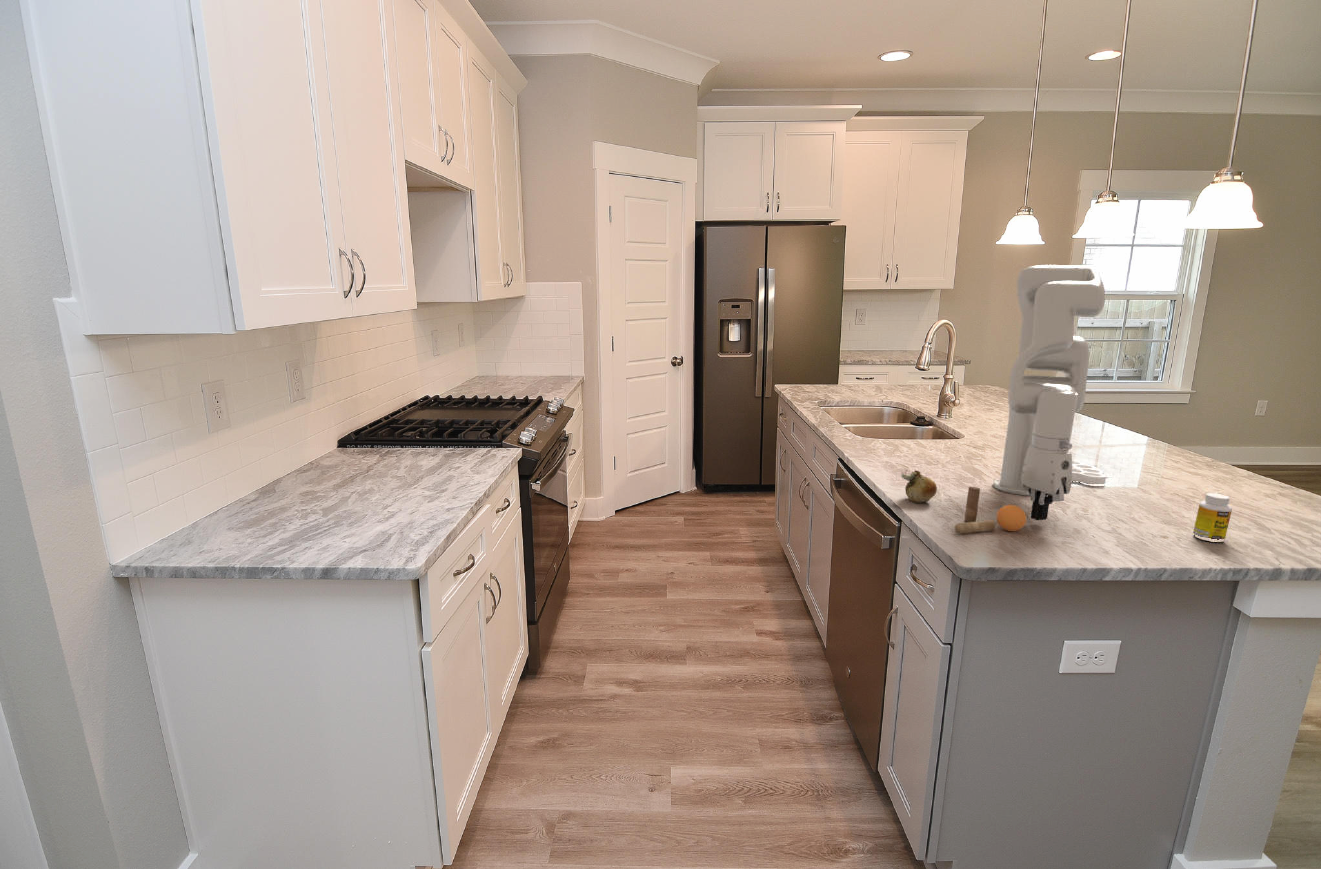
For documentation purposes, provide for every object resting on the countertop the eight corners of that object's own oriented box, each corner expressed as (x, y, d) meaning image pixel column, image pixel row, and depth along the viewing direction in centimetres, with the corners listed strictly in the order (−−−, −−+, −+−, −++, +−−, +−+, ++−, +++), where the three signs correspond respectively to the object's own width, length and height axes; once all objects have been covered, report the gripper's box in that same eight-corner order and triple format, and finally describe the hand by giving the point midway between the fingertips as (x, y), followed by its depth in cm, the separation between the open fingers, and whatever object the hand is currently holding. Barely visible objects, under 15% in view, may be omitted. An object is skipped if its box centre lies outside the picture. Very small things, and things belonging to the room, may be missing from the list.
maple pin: (989, 517, 149) (956, 521, 146) (996, 523, 147) (963, 527, 144) (986, 526, 150) (953, 530, 147) (993, 532, 148) (961, 536, 145)
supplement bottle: (1211, 544, 142) (1221, 500, 139) (1186, 535, 147) (1195, 492, 145) (1231, 542, 143) (1241, 498, 141) (1205, 533, 148) (1214, 491, 146)
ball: (987, 513, 149) (994, 527, 152) (1009, 525, 143) (1016, 540, 147) (1006, 495, 149) (1012, 510, 152) (1028, 507, 144) (1035, 522, 147)
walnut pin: (970, 522, 153) (975, 486, 151) (977, 526, 151) (982, 489, 149) (961, 523, 152) (966, 487, 150) (968, 527, 150) (973, 490, 148)
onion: (916, 507, 163) (919, 477, 161) (896, 497, 171) (899, 468, 169) (941, 505, 165) (945, 475, 163) (921, 495, 172) (924, 466, 171)
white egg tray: (1036, 469, 201) (1087, 471, 199) (1062, 486, 184) (1118, 489, 182) (1038, 458, 200) (1089, 461, 198) (1063, 475, 183) (1120, 478, 181)
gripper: (1092, 450, 142) (1078, 528, 146) (1037, 435, 156) (1026, 507, 160) (1064, 452, 140) (1051, 531, 144) (1011, 436, 154) (1001, 509, 158)
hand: (1038, 518), depth 152 cm, fingers closed
